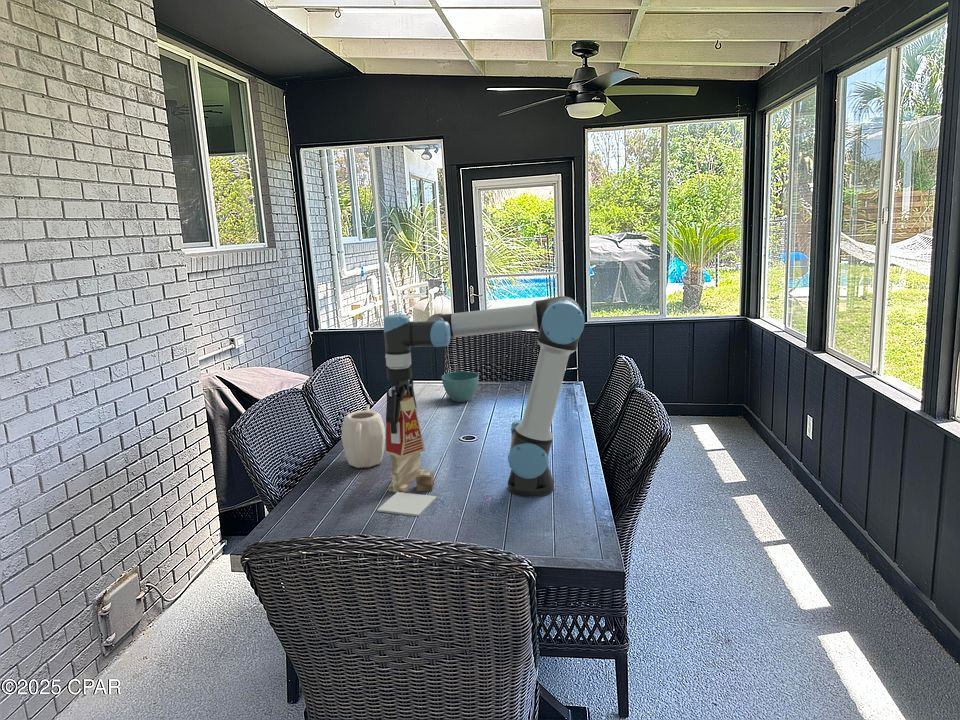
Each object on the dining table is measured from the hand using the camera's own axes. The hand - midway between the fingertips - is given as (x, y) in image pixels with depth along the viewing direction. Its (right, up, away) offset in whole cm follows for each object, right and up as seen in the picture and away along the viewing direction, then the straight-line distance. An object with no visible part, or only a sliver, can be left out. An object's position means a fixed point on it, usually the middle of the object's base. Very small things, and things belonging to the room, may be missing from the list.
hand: (403, 437), depth 206 cm
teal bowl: (+14, +4, +125) cm, 126 cm away
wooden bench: (-1, -18, +23) cm, 29 cm away
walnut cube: (+6, -19, +17) cm, 26 cm away
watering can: (-19, -14, +44) cm, 50 cm away
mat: (+1, -21, +4) cm, 22 cm away
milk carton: (0, -5, +1) cm, 5 cm away
